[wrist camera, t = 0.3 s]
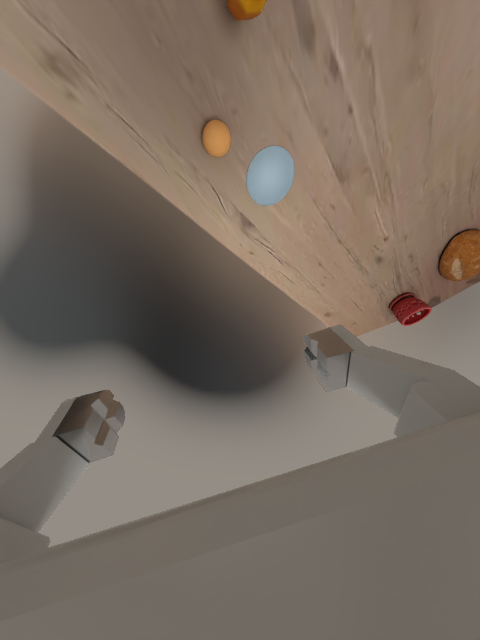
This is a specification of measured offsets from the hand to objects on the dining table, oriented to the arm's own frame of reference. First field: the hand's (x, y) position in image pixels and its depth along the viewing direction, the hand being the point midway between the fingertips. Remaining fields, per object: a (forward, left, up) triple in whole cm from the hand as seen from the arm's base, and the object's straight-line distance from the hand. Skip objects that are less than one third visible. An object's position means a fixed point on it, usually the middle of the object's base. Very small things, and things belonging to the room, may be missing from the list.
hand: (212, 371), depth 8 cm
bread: (-24, +117, -51) cm, 130 cm away
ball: (-6, +6, -48) cm, 48 cm away
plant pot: (+4, +116, -51) cm, 127 cm away
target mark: (-6, +21, -50) cm, 55 cm away
